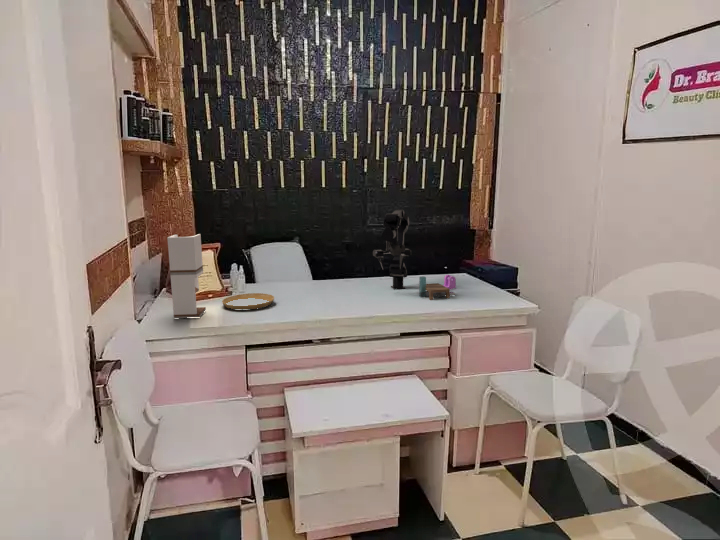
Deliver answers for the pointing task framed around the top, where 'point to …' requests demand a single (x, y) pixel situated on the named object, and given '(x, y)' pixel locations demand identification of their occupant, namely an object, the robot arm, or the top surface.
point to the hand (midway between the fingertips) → (392, 269)
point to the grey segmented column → (185, 274)
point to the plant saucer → (246, 296)
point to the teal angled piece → (423, 289)
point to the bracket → (449, 282)
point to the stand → (437, 289)
